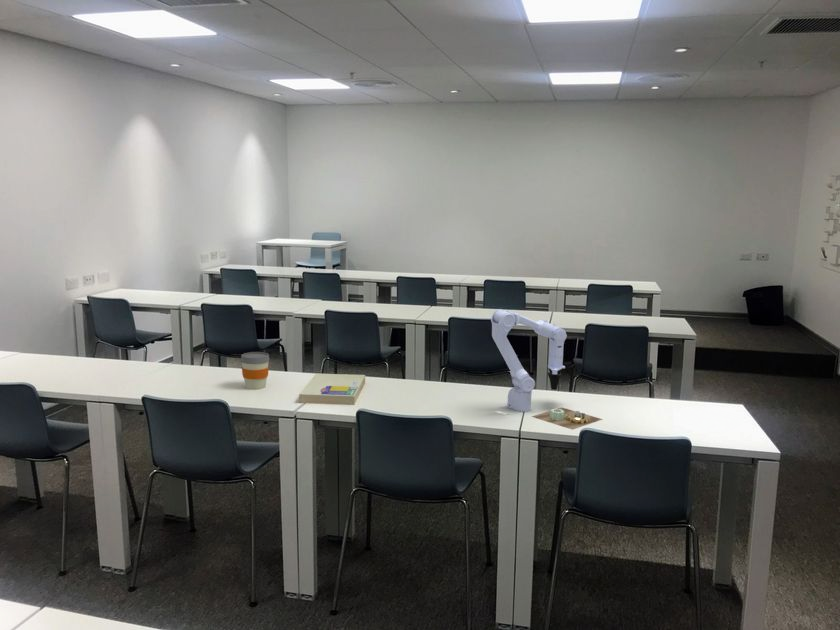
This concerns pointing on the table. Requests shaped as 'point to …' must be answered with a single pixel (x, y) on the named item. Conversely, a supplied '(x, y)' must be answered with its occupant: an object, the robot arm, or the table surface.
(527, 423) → the table surface
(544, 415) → the gear board
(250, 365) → the reusable coffee cup
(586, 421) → the brass gear
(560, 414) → the pale green gear
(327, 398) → the puzzle box
